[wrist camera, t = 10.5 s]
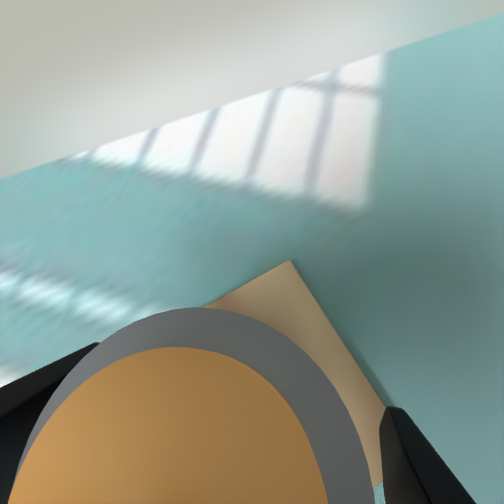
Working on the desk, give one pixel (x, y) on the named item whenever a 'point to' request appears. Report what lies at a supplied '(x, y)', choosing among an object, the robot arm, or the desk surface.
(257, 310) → the mat
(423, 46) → the desk surface
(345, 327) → the desk surface
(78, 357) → the robot arm
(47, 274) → the desk surface
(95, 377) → the canister
